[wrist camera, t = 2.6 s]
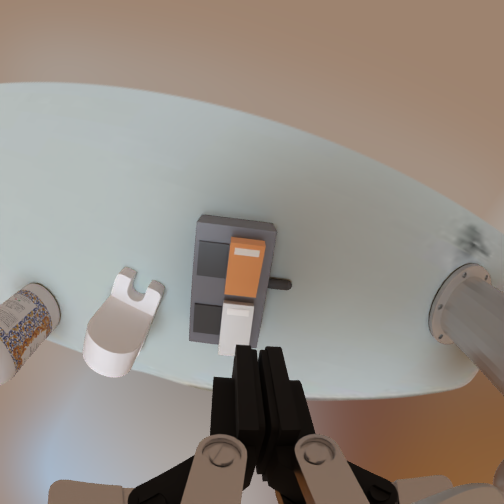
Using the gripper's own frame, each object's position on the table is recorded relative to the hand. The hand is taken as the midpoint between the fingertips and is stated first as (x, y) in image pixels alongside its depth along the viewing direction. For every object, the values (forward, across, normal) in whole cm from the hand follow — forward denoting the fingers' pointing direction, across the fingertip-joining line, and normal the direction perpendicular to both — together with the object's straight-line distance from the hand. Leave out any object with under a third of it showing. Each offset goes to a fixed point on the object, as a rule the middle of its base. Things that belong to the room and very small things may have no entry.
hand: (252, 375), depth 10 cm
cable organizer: (+20, +12, +10) cm, 25 cm away
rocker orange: (+15, 0, +1) cm, 15 cm away
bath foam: (+20, +26, +12) cm, 35 cm away
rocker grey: (+15, 0, +8) cm, 17 cm away
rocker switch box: (+20, -1, +4) cm, 20 cm away
